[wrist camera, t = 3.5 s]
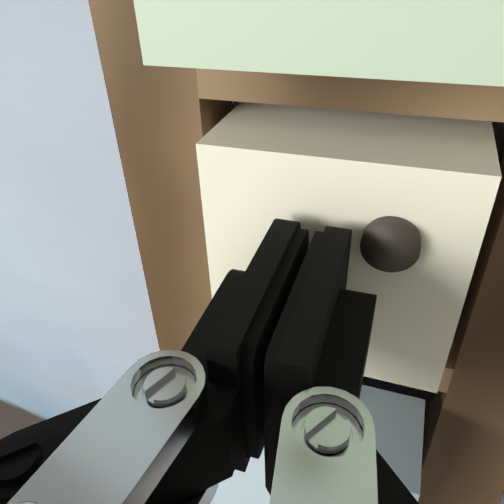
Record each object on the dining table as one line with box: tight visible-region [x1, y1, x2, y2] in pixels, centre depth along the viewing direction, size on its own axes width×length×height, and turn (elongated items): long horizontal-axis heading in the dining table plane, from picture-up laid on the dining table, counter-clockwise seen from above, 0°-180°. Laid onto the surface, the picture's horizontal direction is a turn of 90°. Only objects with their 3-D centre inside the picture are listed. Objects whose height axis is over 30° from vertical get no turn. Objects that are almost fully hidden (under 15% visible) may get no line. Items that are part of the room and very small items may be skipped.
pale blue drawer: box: [211, 385, 425, 504], centre depth 16 cm, size 6×6×3 cm
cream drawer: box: [196, 102, 502, 393], centre depth 12 cm, size 6×6×3 cm
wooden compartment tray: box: [88, 0, 504, 504], centre depth 13 cm, size 12×28×2 cm, turn 2°
